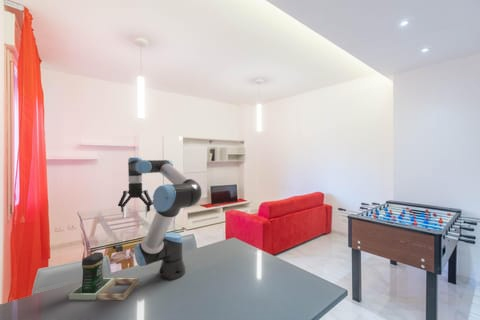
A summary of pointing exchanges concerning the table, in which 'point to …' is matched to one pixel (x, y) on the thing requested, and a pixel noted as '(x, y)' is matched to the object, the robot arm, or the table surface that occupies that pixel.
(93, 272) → the coffee jar
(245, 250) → the table surface
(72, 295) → the green frame
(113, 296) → the birch frame
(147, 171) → the robot arm
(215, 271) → the table surface
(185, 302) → the table surface
